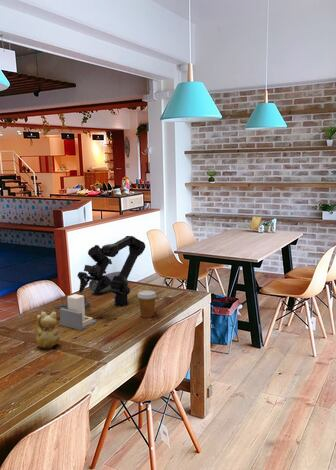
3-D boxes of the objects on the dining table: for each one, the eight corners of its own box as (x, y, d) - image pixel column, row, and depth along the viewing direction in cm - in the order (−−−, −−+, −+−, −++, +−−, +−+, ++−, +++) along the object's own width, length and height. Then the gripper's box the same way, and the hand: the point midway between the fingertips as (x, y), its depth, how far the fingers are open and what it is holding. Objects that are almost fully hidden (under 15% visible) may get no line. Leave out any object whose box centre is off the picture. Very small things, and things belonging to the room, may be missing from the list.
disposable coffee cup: (160, 315, 214) (160, 292, 212) (147, 320, 207) (146, 296, 205) (147, 310, 220) (147, 288, 218) (134, 315, 214) (133, 292, 212)
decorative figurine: (60, 341, 183) (58, 308, 181) (59, 349, 175) (57, 315, 173) (37, 343, 182) (35, 310, 179) (35, 352, 174) (32, 317, 171)
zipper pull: (52, 307, 209) (76, 292, 232) (53, 319, 210) (77, 303, 233) (69, 308, 206) (91, 293, 230) (69, 321, 207) (92, 305, 231)
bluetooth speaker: (114, 284, 269) (113, 269, 267) (125, 287, 263) (125, 271, 262) (88, 294, 251) (87, 277, 249) (99, 296, 245) (99, 280, 244)
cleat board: (76, 317, 212) (75, 302, 210) (96, 322, 205) (95, 306, 204) (60, 324, 203) (59, 308, 201) (80, 330, 196) (79, 313, 194)
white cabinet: (77, 319, 207) (76, 293, 205) (86, 321, 204) (85, 295, 202) (68, 322, 202) (67, 296, 200) (77, 325, 199) (76, 298, 197)
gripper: (78, 256, 214) (63, 282, 206) (107, 260, 204) (92, 288, 197) (90, 267, 222) (76, 293, 214) (118, 272, 212) (104, 299, 204)
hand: (86, 293), depth 207 cm, fingers open, 9 cm apart
